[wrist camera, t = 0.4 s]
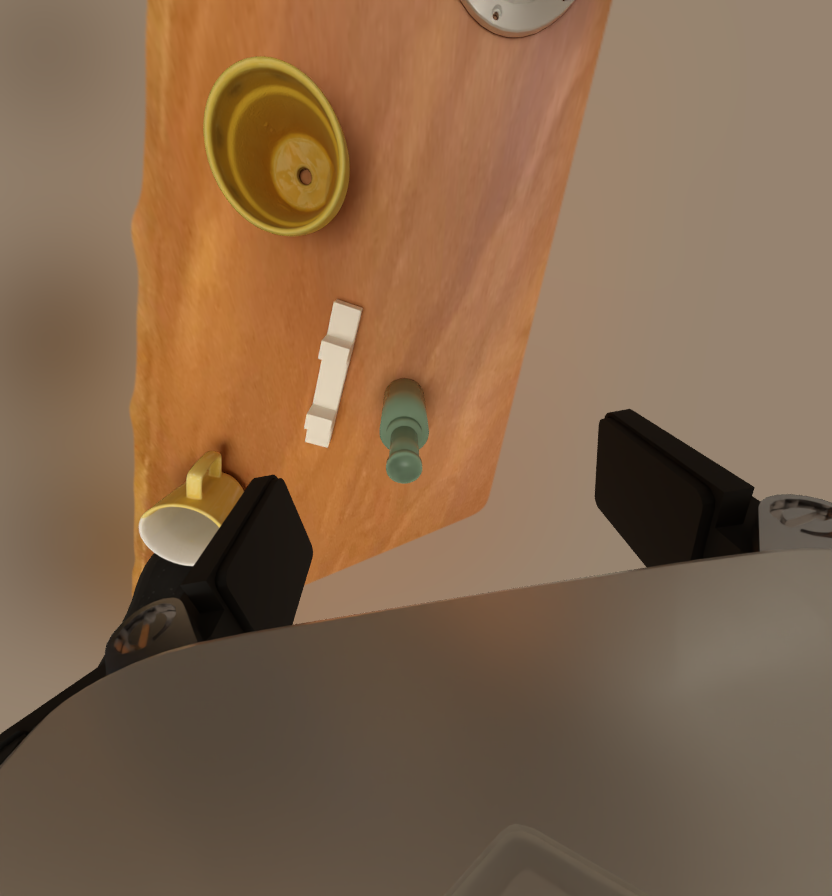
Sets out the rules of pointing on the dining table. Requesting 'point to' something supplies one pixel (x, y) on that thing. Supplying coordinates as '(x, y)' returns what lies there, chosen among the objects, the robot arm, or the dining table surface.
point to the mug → (191, 512)
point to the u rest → (332, 371)
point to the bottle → (157, 584)
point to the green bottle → (404, 429)
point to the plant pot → (275, 146)
